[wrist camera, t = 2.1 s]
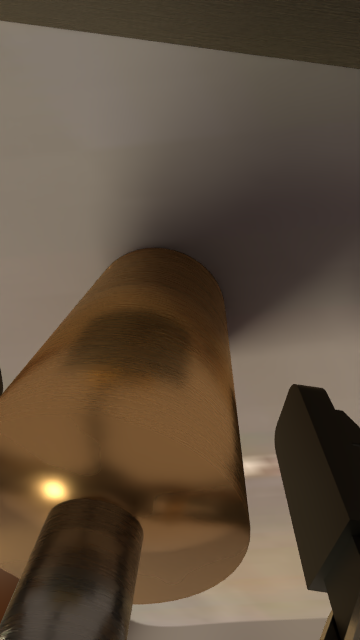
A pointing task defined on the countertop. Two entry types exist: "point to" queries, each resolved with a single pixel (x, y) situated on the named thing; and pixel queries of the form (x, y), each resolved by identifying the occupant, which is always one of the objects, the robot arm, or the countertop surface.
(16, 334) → the countertop surface
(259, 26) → the grey boxy block
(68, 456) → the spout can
